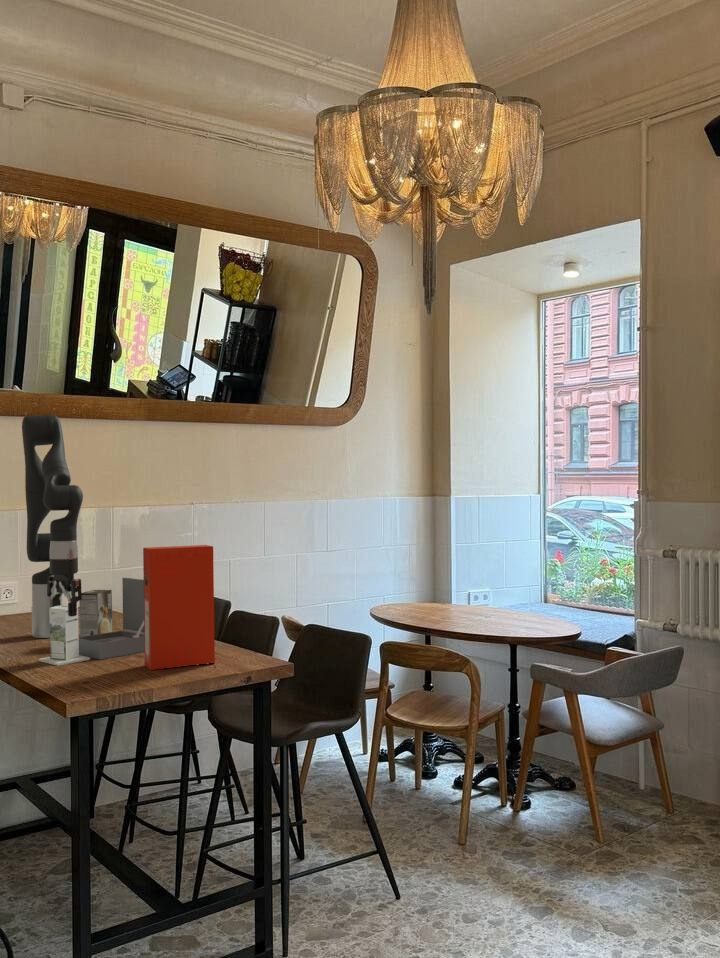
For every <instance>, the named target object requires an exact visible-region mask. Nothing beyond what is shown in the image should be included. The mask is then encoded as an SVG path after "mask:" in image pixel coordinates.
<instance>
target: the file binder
mask: <svg viewBox="0 0 720 958" xmlns="http://www.w3.org/2000/svg"><path fill="white" fill-rule="evenodd" d="M142 549H143V550H142V555H143V556H142V557H143V559H142V561H143V564H142V566H143V580H144V650H145V652H144V666H145V667H146V668H147V669H148V670H149V671H157V669H158V670H164V668H168V669H174V668H173V667H177V668H182V667H181V666H187V667H189V666H188V665H196V666H198V665H197V664H206V665H208V664H207V663H214V664H215V663H216V658H215V656H216V655H215V653H216V652H215V646H216V645H215V593H214V592H215V586H214V585H215V584H214V583H215V582H214V581H215V580H214V577H215V575H214V572H215V571H214V546H213V545H208V544H196V545H178V546H177V545H174V546H152V547H148V546H147V547H143V548H142Z"/></svg>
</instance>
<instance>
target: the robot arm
mask: <svg viewBox="0 0 720 958" xmlns="http://www.w3.org/2000/svg"><path fill="white" fill-rule="evenodd" d="M62 428H63V427H62V424H61V420H60V418H59V416H57V415H56V414H53V413H52V414H50V413H49V414H48V413H47V414H32V415H26V416H24V417H23V419H22V422H21V433H22V445H23V454H24V466H25V467H24V468H25V469H24V471H25V473H24V474H25V477H24V478H25V479H24V480H25V481H24V482H25V483H24V484H25V485H24V486H25V487H24V488H25V502H26V503H25V504H26V505H25V506H26V518H27V519H26V521H27V523H26V524H27V525H26V555H27V559H28V561H30V562H32V563H42V562H43V563H46V562H47V563H48V562H49V567H47V568H45V569H44V570H42V571H39V572H36V573H34V574H33V575H31V598H32V599H31V604H32V605H31V636H32V637H33V638H39V639H42V638H43V639H50V617H49V609H50V608H51V607H54V606H59V605H63V596H64V597H66V599H67V601H68V603H67V606H68V616H76V615H77V606H78V602H79V600H82V593H83V592H82V579H81V578H75V576H74V575H75V574H77V573H78V572H79V550H78V549H79V547H78V541H77V540H78V539H77V537H78V535H77V532H78V531H77V528H78V527H77V525H78V519H79V515H80V511H81V507H82V505H83V504H82V503H83V499H84V494H83V491H82V489H81V487H80V486H79V485H75V484H71V481H72V480H71V474H70V471H69V467H68V464H67V461H66V453H65V452H66V451H65V442H64V435H63V429H62ZM49 445H51V447H50V448H49V450H48V451H47V453H46V454H45V456H44V458H43V460H41V458H40V457H39V455H38V453H37V451H36V446H37V447H39V446H49ZM51 511H52V512H53V511H68V512H67V514H66V515H65V516H64V517H60V518H56V519H53V520H52V521H50V524H49V529H50V530H49V533H48V532H47V533H41V532H40V533H39V529H40V527H41V524H42V523H43V522H44V520H45V519H46V518H47V516H48V515H49V513H50V512H51Z"/></svg>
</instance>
